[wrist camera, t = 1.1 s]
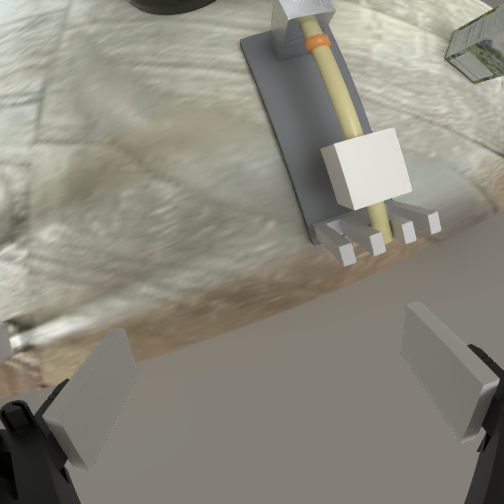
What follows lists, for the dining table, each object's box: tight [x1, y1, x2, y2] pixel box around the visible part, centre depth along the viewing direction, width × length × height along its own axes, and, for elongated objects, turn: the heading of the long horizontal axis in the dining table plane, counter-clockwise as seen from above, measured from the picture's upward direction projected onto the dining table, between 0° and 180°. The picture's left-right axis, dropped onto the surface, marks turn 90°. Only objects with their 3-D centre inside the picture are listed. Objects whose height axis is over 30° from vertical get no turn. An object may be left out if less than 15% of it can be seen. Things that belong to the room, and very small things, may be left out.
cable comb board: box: [240, 0, 441, 267], centre depth 27 cm, size 24×10×12 cm, turn 19°
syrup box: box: [445, 3, 504, 84], centre depth 23 cm, size 6×6×14 cm
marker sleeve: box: [320, 128, 412, 210], centre depth 24 cm, size 5×5×5 cm
